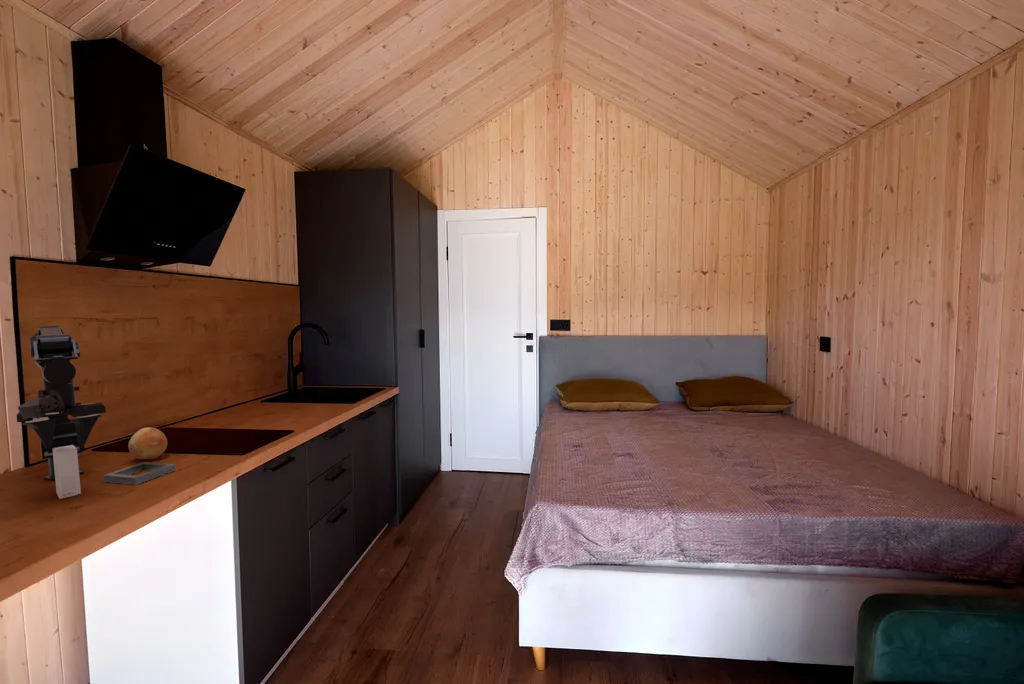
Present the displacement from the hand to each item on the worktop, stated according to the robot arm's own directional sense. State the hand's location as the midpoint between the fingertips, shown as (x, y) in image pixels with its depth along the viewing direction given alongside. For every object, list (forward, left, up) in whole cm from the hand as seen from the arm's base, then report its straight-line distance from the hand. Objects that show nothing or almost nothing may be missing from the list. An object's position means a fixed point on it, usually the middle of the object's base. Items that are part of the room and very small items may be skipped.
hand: (65, 446), depth 123 cm
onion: (-9, +28, -13) cm, 32 cm away
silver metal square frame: (+4, +15, -13) cm, 20 cm away
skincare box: (-2, +1, -13) cm, 13 cm away
